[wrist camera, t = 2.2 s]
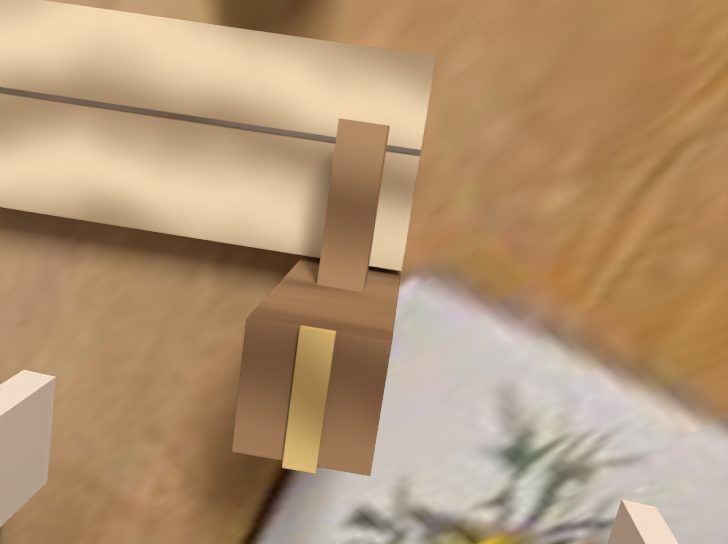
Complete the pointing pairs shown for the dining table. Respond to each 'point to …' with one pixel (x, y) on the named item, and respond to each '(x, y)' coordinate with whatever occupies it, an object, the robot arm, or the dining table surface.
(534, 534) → the dining table surface
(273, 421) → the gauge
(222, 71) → the board
